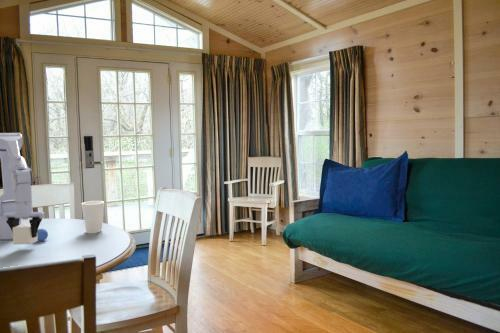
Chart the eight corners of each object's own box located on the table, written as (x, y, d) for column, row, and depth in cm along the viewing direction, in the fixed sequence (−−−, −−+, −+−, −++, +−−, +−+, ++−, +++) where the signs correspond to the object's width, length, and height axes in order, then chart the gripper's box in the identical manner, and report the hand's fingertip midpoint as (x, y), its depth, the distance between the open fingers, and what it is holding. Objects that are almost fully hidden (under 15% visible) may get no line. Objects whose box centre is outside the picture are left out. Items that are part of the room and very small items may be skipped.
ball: (32, 242, 167) (31, 230, 166) (38, 239, 172) (37, 227, 171) (44, 242, 167) (44, 230, 166) (50, 239, 172) (49, 227, 171)
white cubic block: (13, 244, 154) (12, 227, 153) (21, 240, 160) (21, 224, 159) (29, 244, 154) (28, 227, 153) (37, 240, 160) (36, 224, 159)
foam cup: (97, 234, 179) (96, 204, 178) (78, 233, 181) (76, 204, 179) (109, 229, 188) (108, 201, 187) (90, 228, 190) (89, 200, 189)
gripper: (-3, 203, 151) (-1, 240, 153) (37, 203, 152) (39, 239, 153) (8, 200, 158) (10, 235, 160) (46, 200, 159) (48, 234, 160)
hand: (25, 237), depth 157 cm, fingers closed on white cubic block, 6 cm apart
